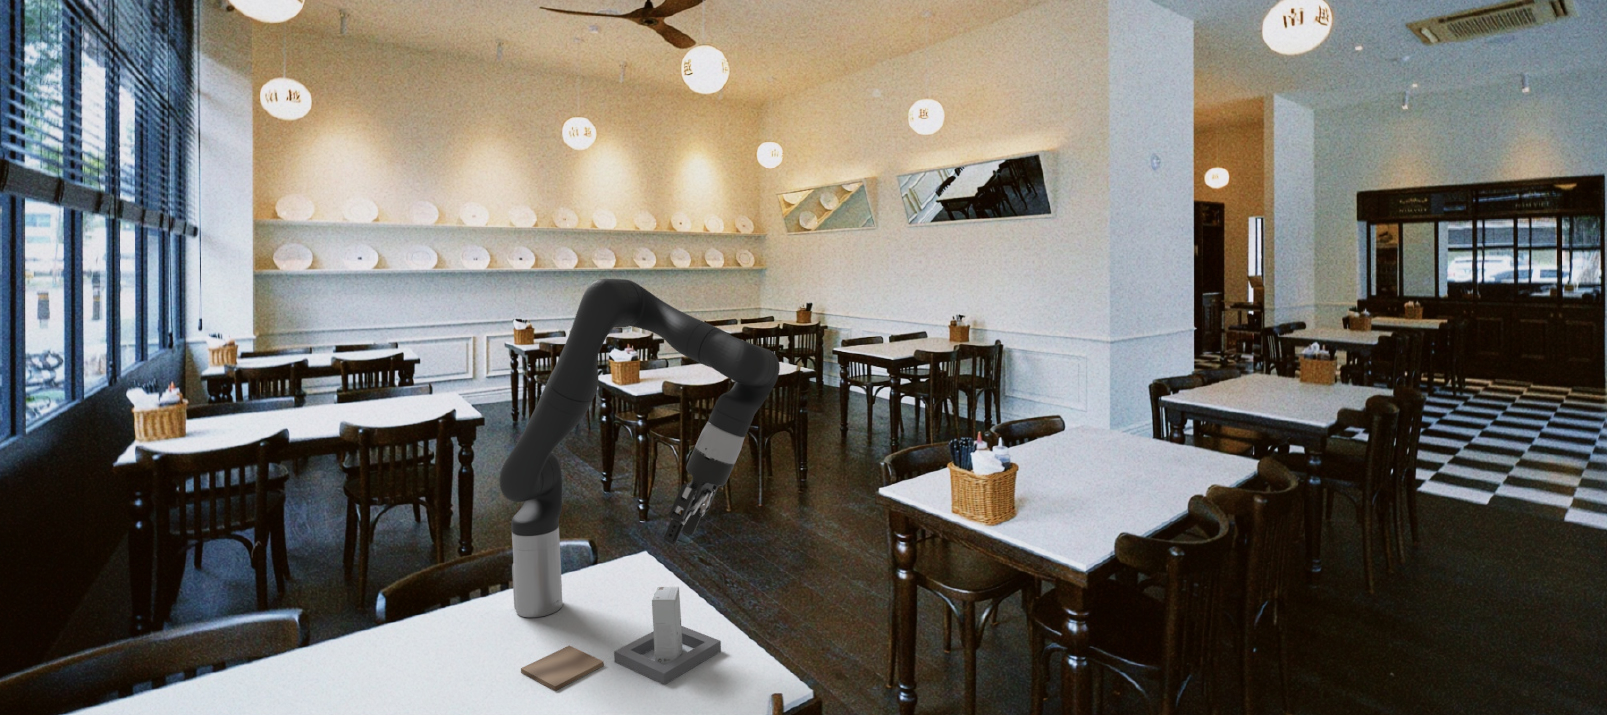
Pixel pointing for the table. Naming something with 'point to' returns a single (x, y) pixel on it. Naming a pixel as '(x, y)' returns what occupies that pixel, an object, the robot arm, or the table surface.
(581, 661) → the coaster
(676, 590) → the skincare box
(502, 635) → the table surface
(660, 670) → the socket block
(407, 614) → the table surface
